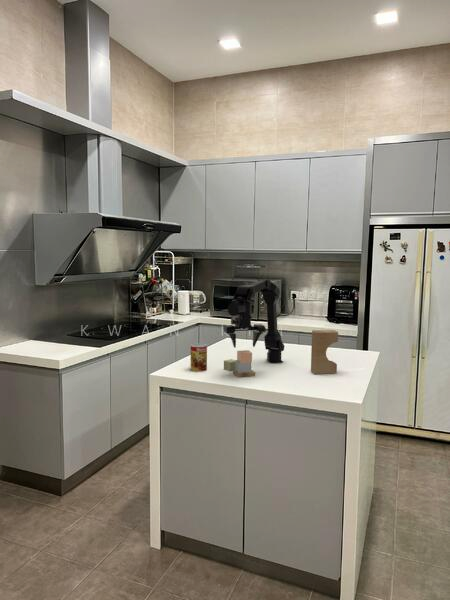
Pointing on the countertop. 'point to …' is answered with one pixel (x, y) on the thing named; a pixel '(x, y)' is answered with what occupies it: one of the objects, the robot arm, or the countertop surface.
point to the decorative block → (322, 351)
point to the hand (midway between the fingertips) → (244, 347)
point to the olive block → (229, 365)
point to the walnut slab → (244, 374)
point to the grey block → (242, 367)
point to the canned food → (198, 357)
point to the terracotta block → (244, 356)
